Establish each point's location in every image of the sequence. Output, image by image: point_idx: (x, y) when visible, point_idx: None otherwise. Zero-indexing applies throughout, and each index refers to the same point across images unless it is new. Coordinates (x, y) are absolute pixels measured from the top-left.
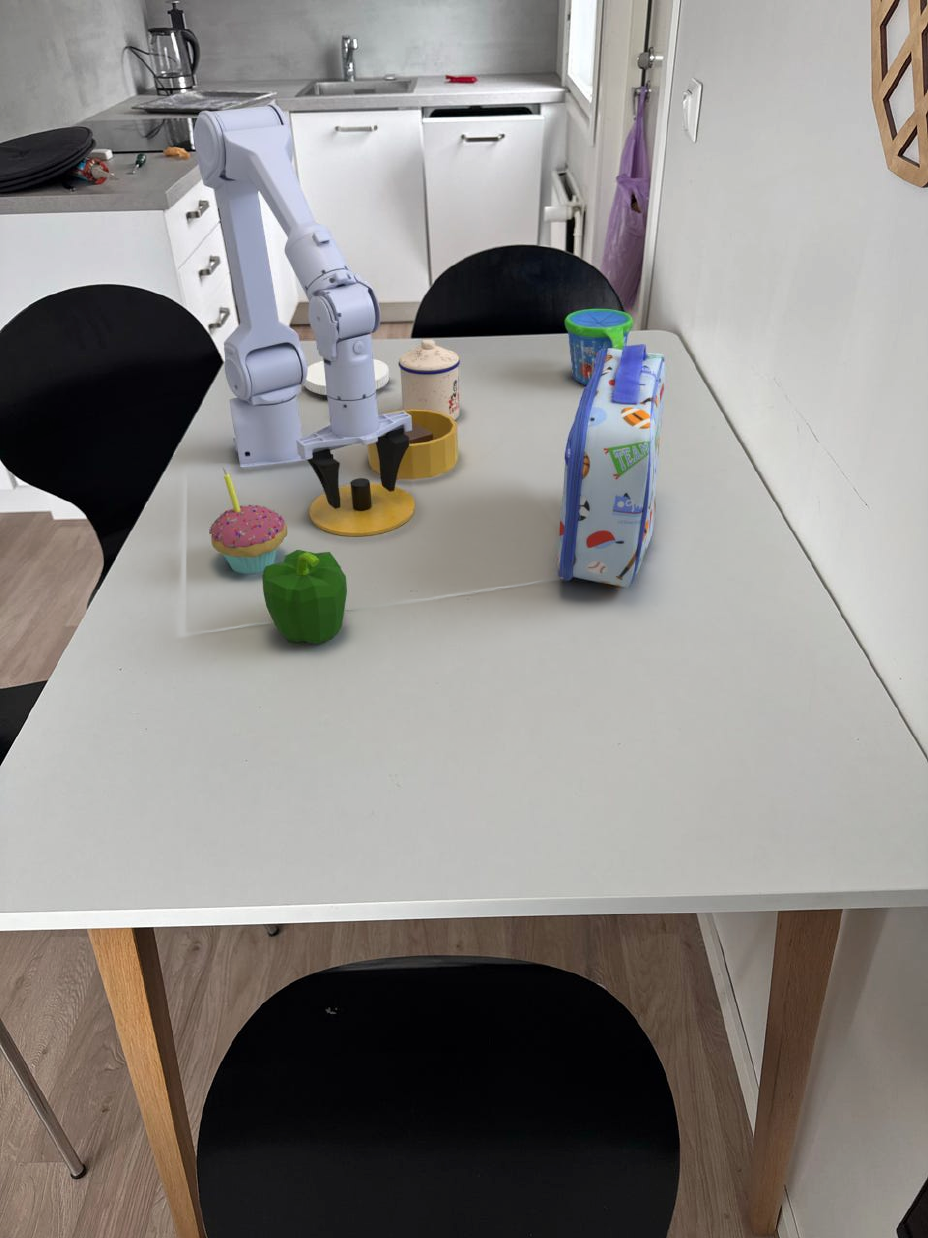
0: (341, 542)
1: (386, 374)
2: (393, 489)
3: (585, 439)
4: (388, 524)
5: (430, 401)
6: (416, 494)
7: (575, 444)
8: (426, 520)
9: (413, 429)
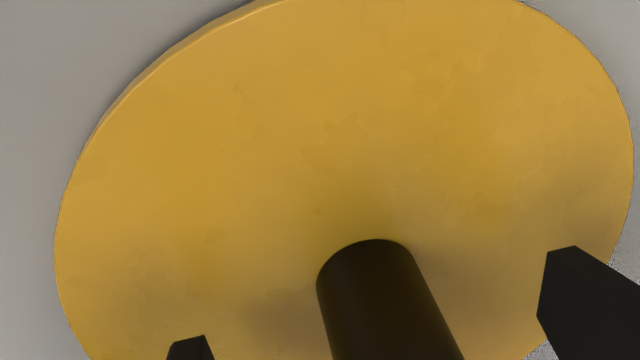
0: (588, 20)
1: None
2: (177, 347)
3: None
4: (313, 30)
5: None
6: (30, 345)
7: None
8: (4, 68)
9: None
